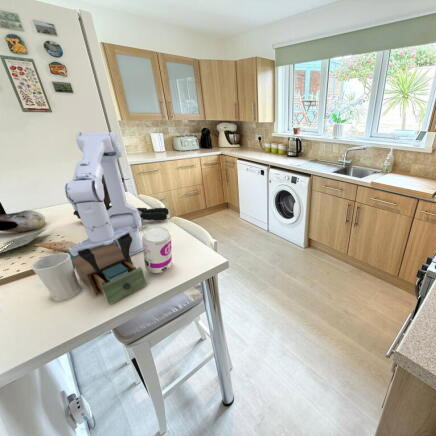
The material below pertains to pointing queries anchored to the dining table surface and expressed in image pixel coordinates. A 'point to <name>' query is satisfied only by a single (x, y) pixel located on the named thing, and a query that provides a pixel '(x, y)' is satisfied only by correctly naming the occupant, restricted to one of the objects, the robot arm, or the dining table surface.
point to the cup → (57, 275)
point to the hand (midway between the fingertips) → (112, 264)
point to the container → (115, 272)
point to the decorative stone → (21, 221)
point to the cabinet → (103, 259)
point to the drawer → (120, 282)
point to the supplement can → (157, 249)
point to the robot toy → (150, 213)
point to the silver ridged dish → (21, 241)
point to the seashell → (58, 246)
